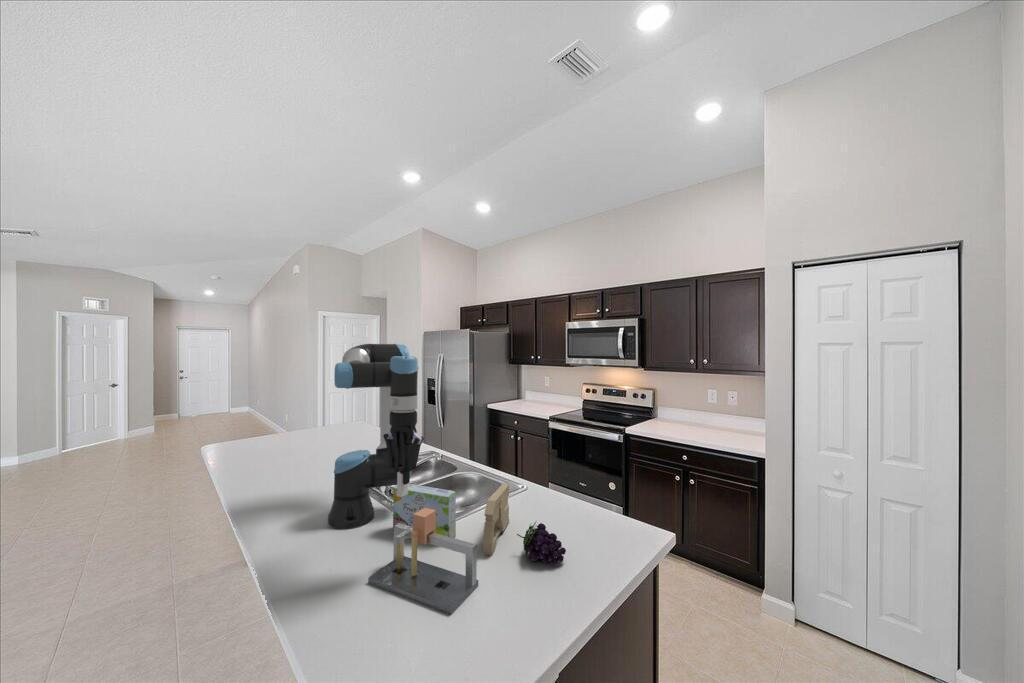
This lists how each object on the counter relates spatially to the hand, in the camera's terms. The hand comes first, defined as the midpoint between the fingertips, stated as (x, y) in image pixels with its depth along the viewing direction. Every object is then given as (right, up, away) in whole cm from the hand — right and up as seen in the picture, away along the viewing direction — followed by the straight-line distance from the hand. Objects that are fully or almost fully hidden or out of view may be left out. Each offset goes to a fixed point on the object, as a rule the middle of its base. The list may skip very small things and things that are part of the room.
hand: (402, 494), depth 106 cm
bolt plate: (+8, -20, -9) cm, 23 cm away
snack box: (+2, -21, +18) cm, 27 cm away
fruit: (+39, -21, +4) cm, 44 cm away
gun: (+26, -21, +17) cm, 37 cm away
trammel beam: (+9, -19, -7) cm, 22 cm away
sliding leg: (+6, -18, -5) cm, 20 cm away
